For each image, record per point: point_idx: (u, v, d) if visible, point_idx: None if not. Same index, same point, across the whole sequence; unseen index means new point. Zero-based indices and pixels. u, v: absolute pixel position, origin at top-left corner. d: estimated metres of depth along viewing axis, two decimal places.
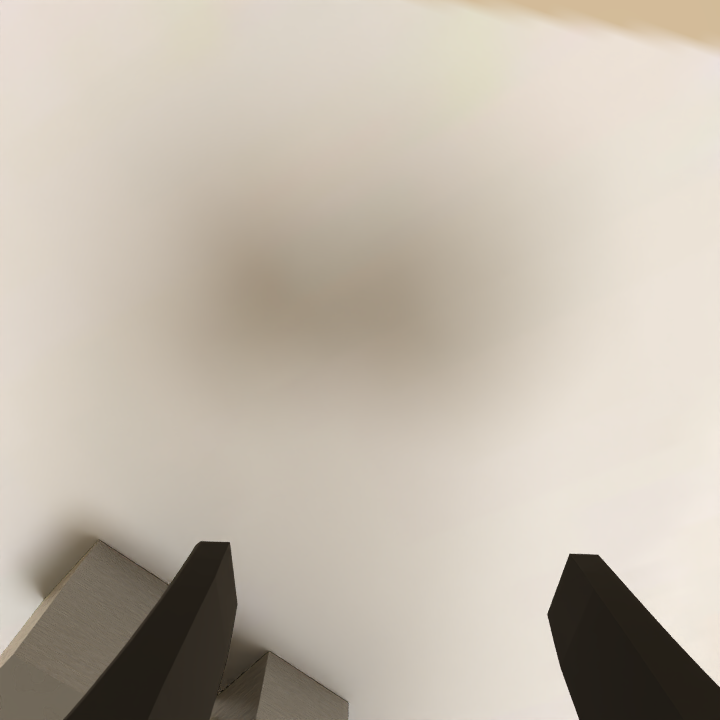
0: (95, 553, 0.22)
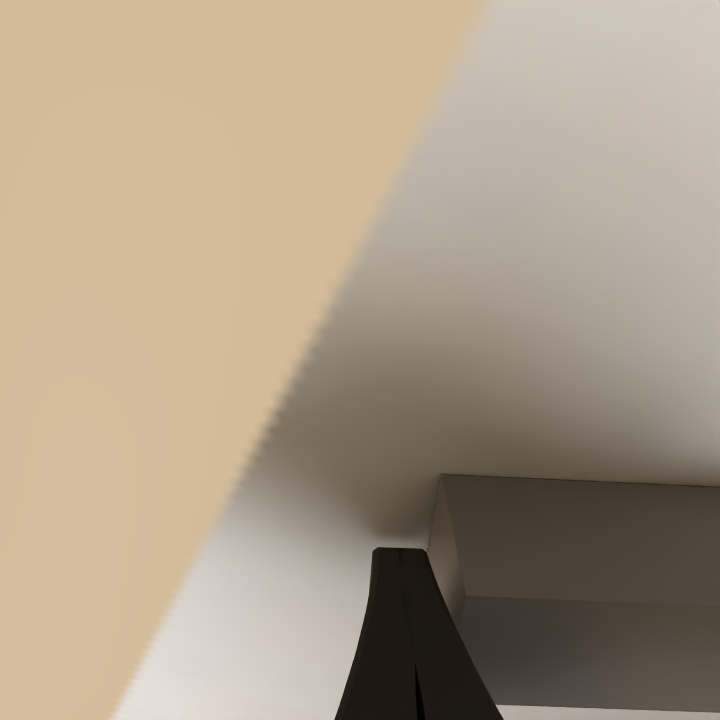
0: None
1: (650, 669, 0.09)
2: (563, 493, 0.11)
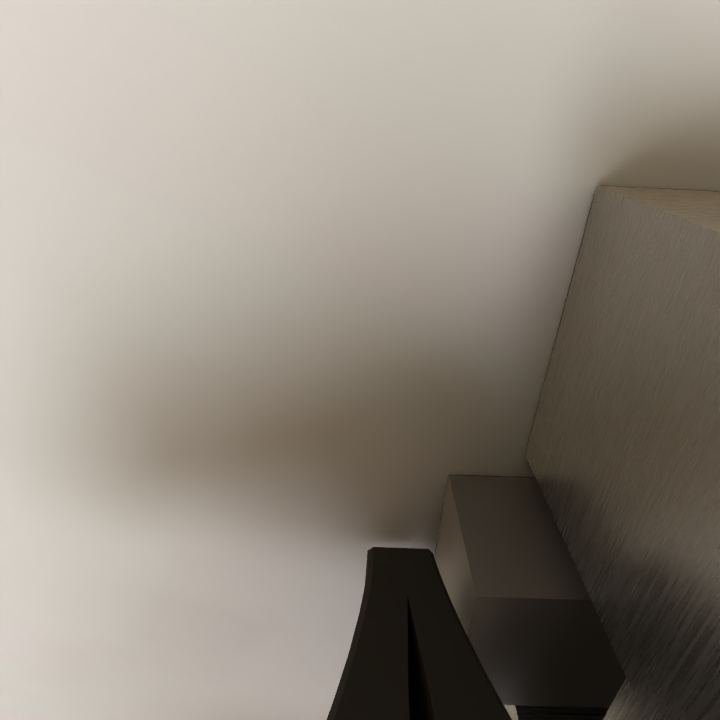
0: None
1: None
2: None
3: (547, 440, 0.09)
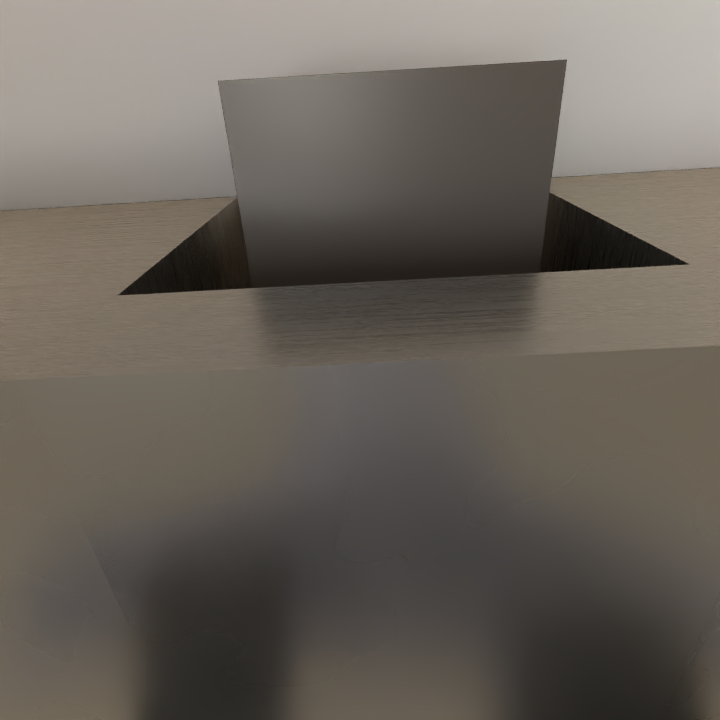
0: None
1: None
2: None
3: (606, 183, 0.07)
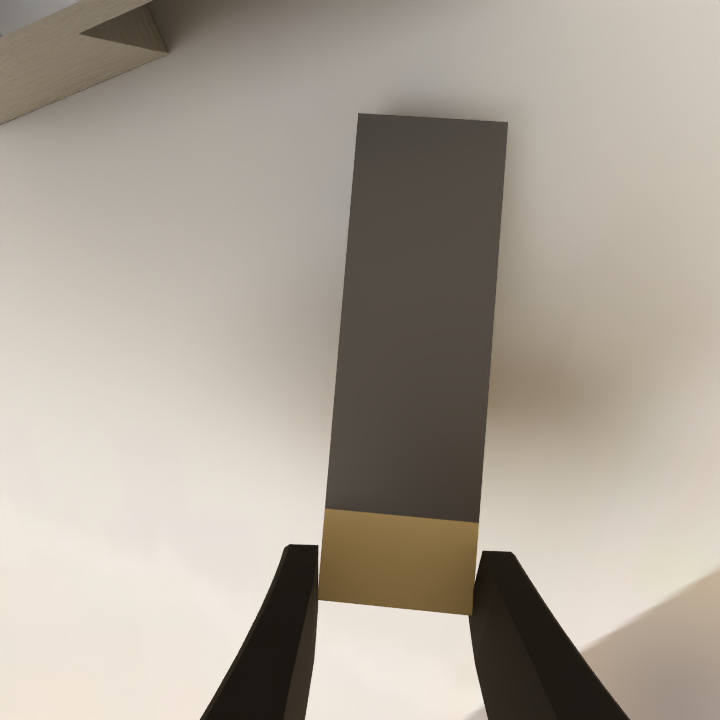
0: None
1: (408, 284, 0.11)
2: None
3: None
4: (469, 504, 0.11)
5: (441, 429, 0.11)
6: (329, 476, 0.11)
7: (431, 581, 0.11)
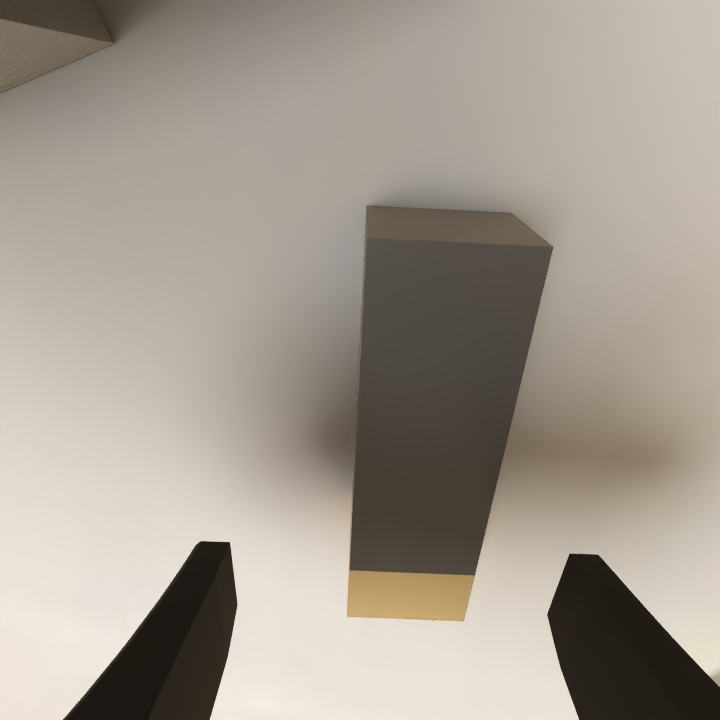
0: None
1: (423, 416, 0.11)
2: None
3: None
4: (468, 566, 0.13)
5: (448, 522, 0.12)
6: (351, 551, 0.13)
7: (434, 605, 0.14)
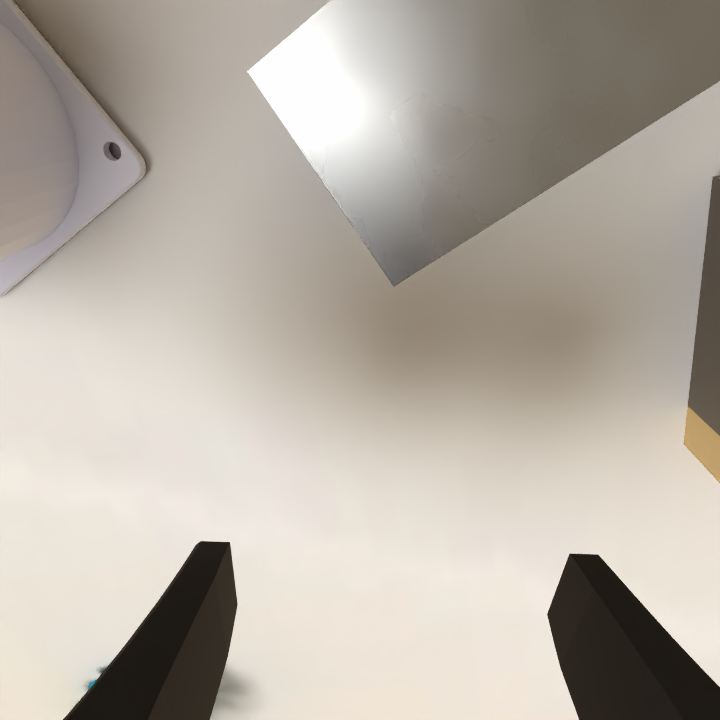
0: None
1: None
2: None
3: None
4: None
5: None
6: None
7: None
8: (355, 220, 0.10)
